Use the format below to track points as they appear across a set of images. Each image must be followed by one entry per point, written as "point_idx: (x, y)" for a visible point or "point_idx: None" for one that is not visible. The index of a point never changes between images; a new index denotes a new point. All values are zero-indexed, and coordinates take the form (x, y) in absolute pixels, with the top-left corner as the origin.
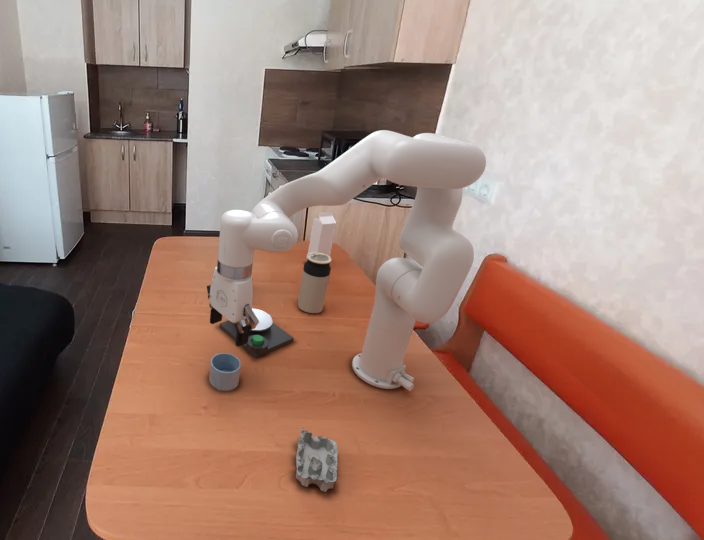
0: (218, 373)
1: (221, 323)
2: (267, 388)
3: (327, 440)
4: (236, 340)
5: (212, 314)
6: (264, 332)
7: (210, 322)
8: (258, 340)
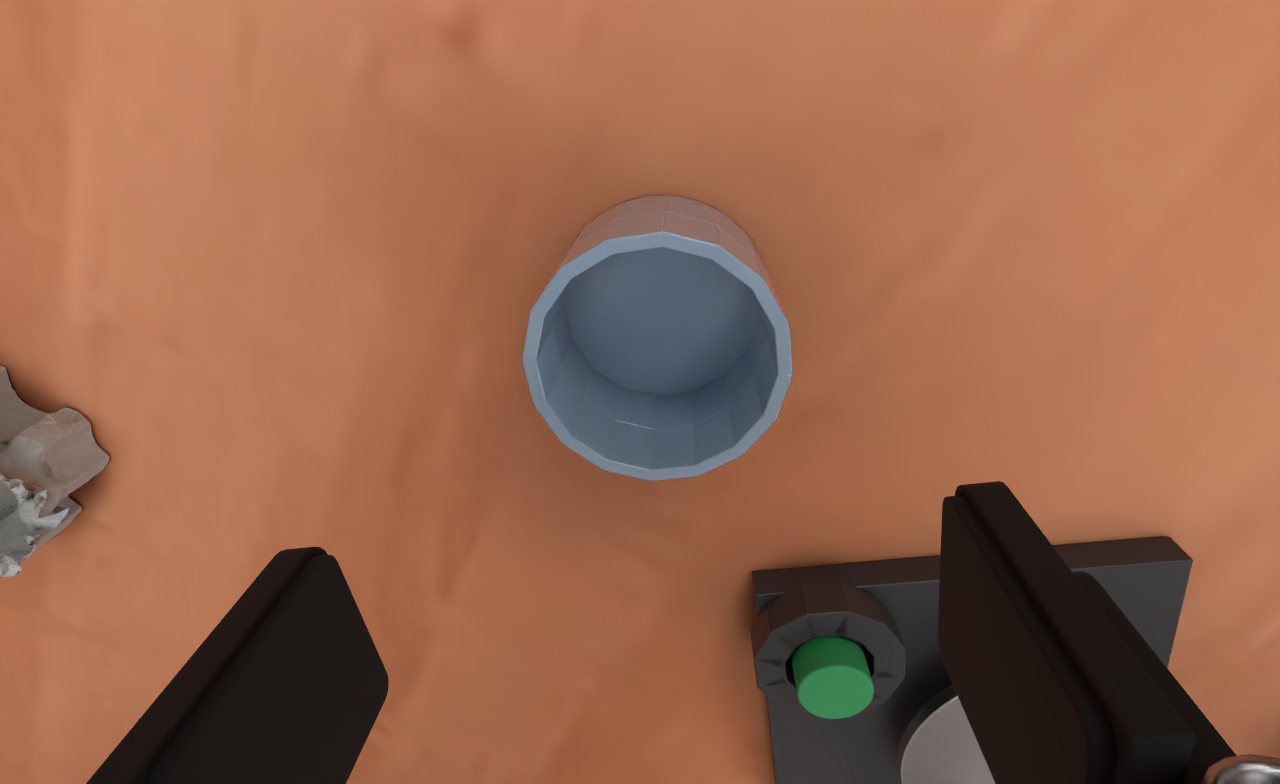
0: (581, 250)
1: (1183, 570)
2: (502, 501)
3: (18, 553)
4: (248, 614)
5: (1046, 645)
6: None
7: (987, 490)
8: (810, 683)
